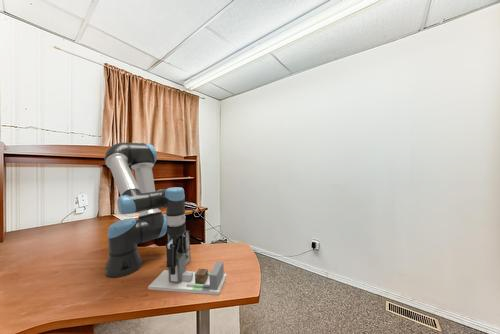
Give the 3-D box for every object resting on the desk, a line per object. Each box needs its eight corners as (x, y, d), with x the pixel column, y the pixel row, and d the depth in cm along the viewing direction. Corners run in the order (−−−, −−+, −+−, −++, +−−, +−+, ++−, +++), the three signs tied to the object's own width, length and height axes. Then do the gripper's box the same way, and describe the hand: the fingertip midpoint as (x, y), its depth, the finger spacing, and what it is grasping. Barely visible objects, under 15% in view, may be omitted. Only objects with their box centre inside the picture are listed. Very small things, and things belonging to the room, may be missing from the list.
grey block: (168, 282, 83) (167, 259, 82) (175, 274, 89) (174, 252, 88) (189, 283, 82) (188, 260, 81) (194, 275, 87) (193, 253, 87)
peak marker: (195, 283, 82) (194, 274, 82) (199, 277, 86) (199, 268, 86) (204, 284, 82) (204, 275, 81) (208, 277, 86) (207, 269, 86)
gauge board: (148, 289, 81) (147, 272, 81) (164, 272, 93) (164, 257, 92) (218, 294, 77) (218, 277, 76) (226, 276, 89) (226, 260, 88)
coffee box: (191, 260, 103) (190, 230, 102) (183, 267, 97) (182, 235, 96) (177, 258, 106) (175, 228, 105) (168, 264, 100) (167, 233, 99)
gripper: (173, 232, 74) (175, 291, 76) (193, 217, 93) (195, 264, 94) (154, 231, 75) (157, 289, 77) (178, 216, 94) (180, 263, 95)
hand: (178, 275), depth 85 cm, fingers closed on grey block, 6 cm apart
